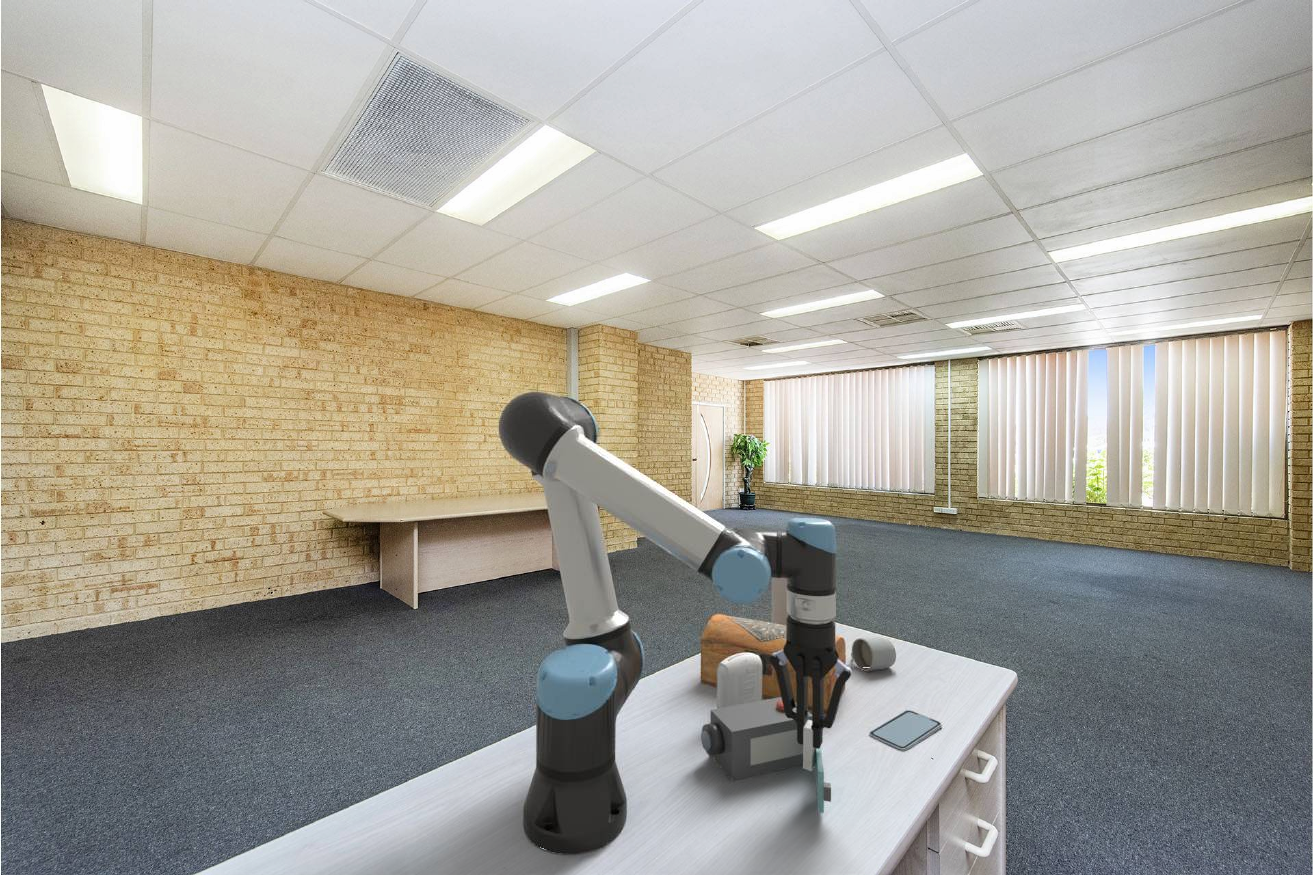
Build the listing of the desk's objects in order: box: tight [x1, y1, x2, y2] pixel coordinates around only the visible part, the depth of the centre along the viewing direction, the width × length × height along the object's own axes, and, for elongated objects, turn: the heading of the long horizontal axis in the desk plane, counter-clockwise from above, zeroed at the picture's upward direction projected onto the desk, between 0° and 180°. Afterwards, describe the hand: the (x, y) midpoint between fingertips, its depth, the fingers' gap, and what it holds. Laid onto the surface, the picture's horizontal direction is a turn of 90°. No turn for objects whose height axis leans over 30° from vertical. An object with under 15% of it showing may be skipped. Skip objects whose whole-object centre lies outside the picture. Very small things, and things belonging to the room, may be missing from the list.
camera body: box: [700, 697, 812, 782], centre depth 96 cm, size 19×8×9 cm, turn 110°
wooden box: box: [700, 613, 847, 714], centre depth 126 cm, size 30×16×14 cm, turn 59°
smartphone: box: [868, 709, 942, 752], centre depth 106 cm, size 7×1×15 cm
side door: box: [813, 745, 832, 814], centre depth 88 cm, size 15×2×6 cm, turn 166°
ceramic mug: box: [850, 636, 897, 672], centre depth 138 cm, size 11×8×8 cm
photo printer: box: [716, 653, 763, 709], centre depth 112 cm, size 10×4×12 cm, turn 123°
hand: (809, 765), depth 87 cm, fingers closed
